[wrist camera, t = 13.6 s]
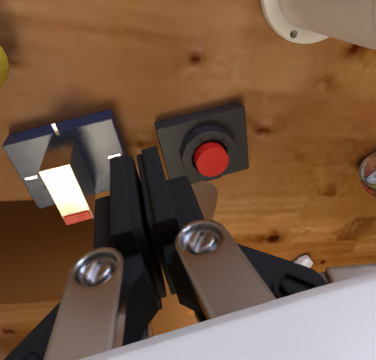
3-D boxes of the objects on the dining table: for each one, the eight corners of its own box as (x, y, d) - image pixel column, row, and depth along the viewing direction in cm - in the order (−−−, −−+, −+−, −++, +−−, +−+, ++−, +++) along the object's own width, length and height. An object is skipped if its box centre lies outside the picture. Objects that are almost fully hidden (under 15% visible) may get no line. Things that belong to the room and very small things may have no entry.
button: (222, 137, 38) (227, 144, 37) (226, 164, 40) (230, 171, 39) (190, 145, 38) (194, 152, 36) (196, 172, 40) (199, 180, 39)
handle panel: (108, 100, 36) (108, 109, 34) (134, 178, 43) (136, 191, 40) (4, 125, 35) (-4, 137, 33) (46, 201, 42) (42, 216, 39)
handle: (47, 143, 34) (37, 173, 29) (75, 137, 35) (69, 165, 30) (71, 193, 38) (66, 226, 33) (95, 187, 39) (94, 219, 34)
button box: (238, 101, 40) (249, 112, 37) (243, 160, 45) (253, 175, 42) (154, 122, 39) (158, 136, 36) (169, 180, 44) (174, 197, 41)
